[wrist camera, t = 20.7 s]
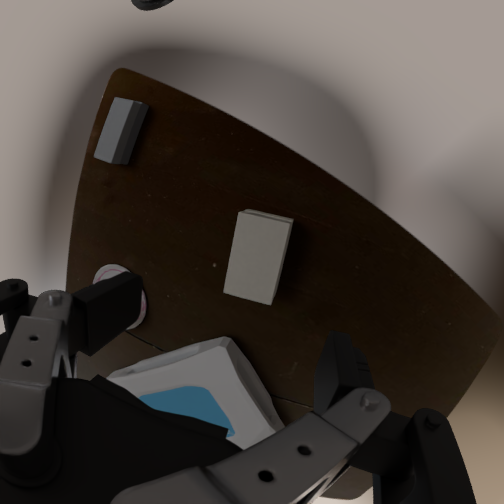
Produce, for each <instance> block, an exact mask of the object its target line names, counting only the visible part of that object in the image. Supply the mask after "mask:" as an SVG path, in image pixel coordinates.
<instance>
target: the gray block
mask: <svg viewBox="0 0 504 504" xmlns="http://www.w3.org/2000/svg"><path fill="white" fill-rule="evenodd" d="M148 108H149V106H148V105H146V104H144V103H142V102H137V101H132V100H127V99H122V98H116V97H115V99H114V101H113V104H112V106H111V109H110V111H109V114H108V116H107V119H106V122H105V125H104V127H103V130H102V133H101V136H100V139H99V142H98V145H97V148H96V152H95V155H94V157H95V158H98V159H101V160H103V161H106V162H109V163H113V164H128V162H129V159H130V156H131V153H132V150H133V147H134V144H135V141H136V139H137V136H138V133H139V130H140V128H141V125H142V123H143V120H144V117H145V115H146V112H147V110H148Z"/></svg>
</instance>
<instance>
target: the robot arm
mask: <svg viewBox="0 0 504 504" xmlns="http://www.w3.org/2000/svg"><path fill="white" fill-rule="evenodd" d="M139 1H140V2H152V1H155V0H139ZM142 288H143V279H142V277H141V276H139V275H137V274H134V273H131V272H128V271H124V272H122V273H120V274H118V275H116V276H113V277H111V278H108V279H103V280H101V281H98V282H96V283H95V284H92V285H90V286H89V287H85V288H83V289H81V290H79V291H77V292H75V293H72V294H69V293H67V292H65V291H61V290H49V291H45V292H43V293H41V294H40V295H39V297H35V296H32V295H29V294H28V284H27V283H26V282H25V281H23V280H21V279H8V280H4V281H2V282H0V315H2V314H3V320H4V325H5V330H6V332H4V333H2V334H1V335H0V504H311V503H313V501H314V500H316V499H317V498H318V497H319V496H320V495H321V494H322V493H323V492H325V491H326V490H327V489H328V488H329V487H330V486H331V485H332V484H333V483H334V482H335V481H336V480H338V479H339V478H340V477H341V476H342V475H343V474H344V473H345V472H346V471H347V470H348V469H349V468H350V467H351V466H353V467H356V468H359V469H361V470H364V471H367V472H370V473H373V504H476V500H475V496H474V493H473V490H472V486H471V483H470V479H469V476H468V473H467V470H466V467H465V464H464V461H463V458H462V455H461V452H460V450H459V447H458V444H457V441H456V439H455V436H454V434H453V431H452V428H451V426H450V424H449V421H448V420H447V418H446V417H445V416H444V415H442V414H441V413H439V412H438V411H435V410H433V409H428V408H423V409H419V410H417V411H416V412H415V414H414V415H413V417H412V418H409V417H406V416H403V415H400V414H397V413H394V412H392V411H390V410H391V404H390V402H389V400H388V399H387V398H386V397H385V396H384V395H383V394H382V393H380V392H378V391H376V390H375V388H374V384H373V380H372V377H371V373H370V372H369V371H370V370H369V366H368V363H367V359H366V356H365V355H364V354H363V353H362V352H361V351H360V349H359V348H354V347H352V342H351V338H350V335H349V334H346V333H342V332H337V331H333V330H331V331H330V333H329V335H328V337H327V340H326V343H325V345H324V348H323V351H322V353H321V356H320V359H319V361H318V364H317V367H316V371H315V377H314V411H310V412H308V413H307V414H305V415H303V416H302V417H300V418H299V419H297V420H296V421H294V422H292V423H291V424H289V425H287V426H286V427H284V428H282V429H281V430H279V431H277V432H276V433H274V434H272V435H270V436H269V437H267V438H265V439H263V440H261V441H260V442H258V443H256V444H254V445H252V446H250V447H248V448H246V449H245V450H243V449H242V448H240V447H239V446H238V445H236V444H234V443H233V442H231V441H229V440H227V439H226V437H227V433H228V430H229V429H228V428H225V427H222V426H219V425H215V424H212V423H209V422H206V421H203V420H200V419H198V418H195V417H191V416H186V415H180V414H175V413H170V412H165V411H160V410H156V409H153V408H151V407H150V406H148V405H147V404H145V403H144V402H143V401H141V400H140V399H139V398H137V397H136V396H135V395H133V394H132V393H131V392H129V391H128V390H127V389H125V388H123V387H121V386H119V385H117V384H115V383H113V382H111V381H110V380H108V379H106V378H104V377H102V376H100V375H96V376H95V377H94V378H93V379H92V380H91V381H88V380H84V379H78V378H76V373H77V352H78V351H81V352H83V353H84V354H86V355H88V356H90V357H91V356H92V355H93V354H95V353H96V352H97V351H99V350H100V349H101V348H102V347H104V346H105V345H106V344H108V343H109V342H110V341H112V340H113V339H114V338H115V337H117V336H118V335H119V334H121V333H122V332H123V331H125V330H126V329H127V328H128V327H130V326H131V325H132V324H134V323H135V322H136V321H137V320H138V318H139V316H140V312H141V302H142Z"/></svg>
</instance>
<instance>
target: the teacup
mask: <svg viewBox="0 0 504 504" xmlns="http://www.w3.org/2000/svg"><path fill="white" fill-rule="evenodd" d="M124 271H128V272H130V271H129V270H128V269H126V268H124V267H122V266H120V265H117V264H109V265H106V266H104V267H102V268H101V269H100V270H99V271H98V272H97V273H96V275H95V278H94V281H93V284H95V283H96V282H98V281H101V280H103V279H108V278H111V277H113V276H116V275H118V274H120V273H122V272H124ZM146 307H147V304H146V298H145V293H144V291H143V289H142V302H141V312H140V316H139V318H138V320H137V321H136V322H135V323H134V324H132V325H131V326H130V327H128V328H127V329H132V328H135V327H136V326H138V325H139V324H140V323H141V322H142V321H143V319H144V317H145V314H146Z"/></svg>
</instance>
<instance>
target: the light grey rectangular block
mask: <svg viewBox="0 0 504 504" xmlns="http://www.w3.org/2000/svg"><path fill="white" fill-rule="evenodd" d="M290 227H291V221H287V220H282V219H278V218H274V217H269V216H265V215H261V214H256V213H252V212H247V211H241V212H239V214H238V219H237V224H236V229H235V234H234V239H233V244H232V250H231V255H230V260H229V265H228V270H227V276H226V281H225V286H224V293H227V294H231V295H234V296H238V297H242V298H245V299H249V300H253V301H257V302H260V303H264V304H268V305H271V303H272V301H273V298H274V294H275V290H276V286H277V282H278V277H279V273H280V269H281V265H282V261H283V257H284V252H285V248H286V244H287V240H288V235H289V231H290Z"/></svg>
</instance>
